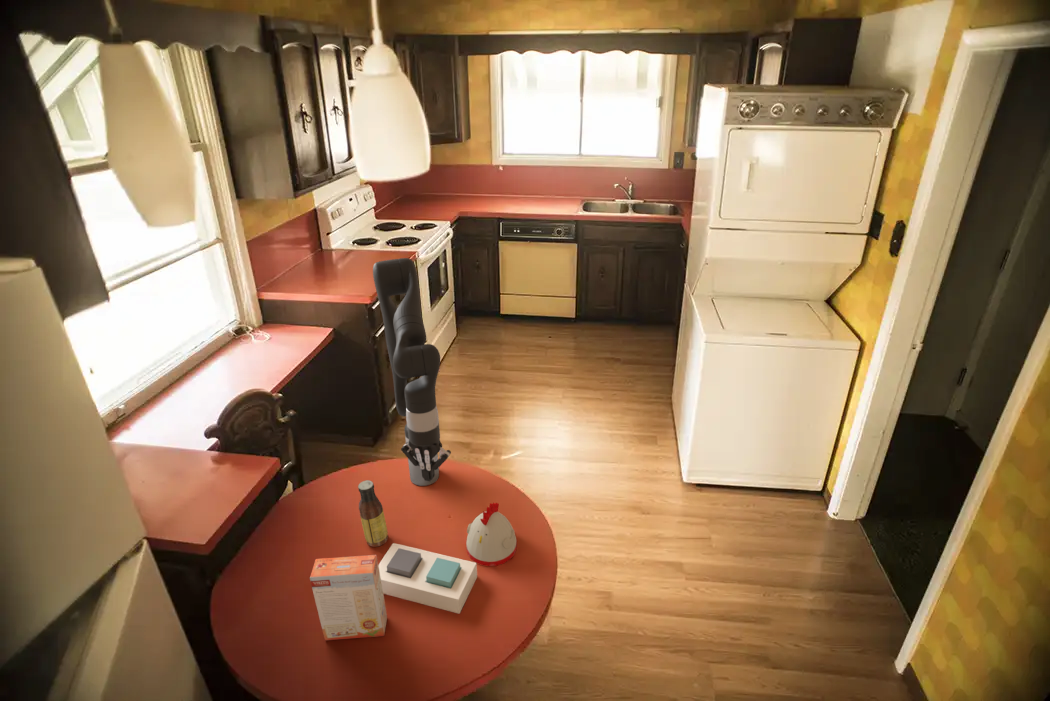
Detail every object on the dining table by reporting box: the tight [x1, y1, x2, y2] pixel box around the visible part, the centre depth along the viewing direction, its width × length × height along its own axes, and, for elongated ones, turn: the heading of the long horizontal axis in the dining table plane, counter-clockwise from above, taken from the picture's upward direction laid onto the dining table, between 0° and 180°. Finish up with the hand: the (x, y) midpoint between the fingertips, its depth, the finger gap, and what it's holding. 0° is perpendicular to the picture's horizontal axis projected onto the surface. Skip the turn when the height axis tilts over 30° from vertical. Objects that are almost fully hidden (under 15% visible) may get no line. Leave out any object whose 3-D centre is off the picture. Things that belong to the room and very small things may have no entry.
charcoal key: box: [387, 548, 422, 578], centre depth 154 cm, size 6×6×4 cm
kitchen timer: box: [465, 502, 518, 567], centre depth 163 cm, size 14×14×15 cm
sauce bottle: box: [357, 479, 389, 548], centre depth 164 cm, size 7×6×20 cm
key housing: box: [378, 542, 478, 614], centre depth 154 cm, size 12×24×5 cm, turn 73°
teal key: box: [426, 558, 461, 589], centre depth 151 cm, size 6×6×4 cm
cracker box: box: [309, 554, 388, 641], centre depth 138 cm, size 14×6×21 cm, turn 94°
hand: (428, 479), depth 150 cm, fingers closed
